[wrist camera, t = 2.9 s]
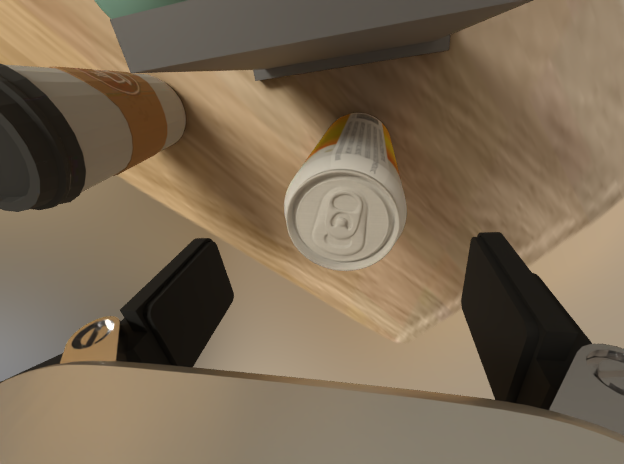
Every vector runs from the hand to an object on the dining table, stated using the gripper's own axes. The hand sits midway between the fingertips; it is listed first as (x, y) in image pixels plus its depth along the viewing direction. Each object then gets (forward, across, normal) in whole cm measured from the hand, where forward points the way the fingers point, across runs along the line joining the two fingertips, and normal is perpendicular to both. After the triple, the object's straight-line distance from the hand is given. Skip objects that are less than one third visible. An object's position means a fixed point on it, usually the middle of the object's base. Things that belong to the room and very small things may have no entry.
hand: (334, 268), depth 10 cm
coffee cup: (+18, +19, -6) cm, 27 cm away
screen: (+18, +1, -8) cm, 20 cm away
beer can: (+18, 0, 0) cm, 18 cm away
